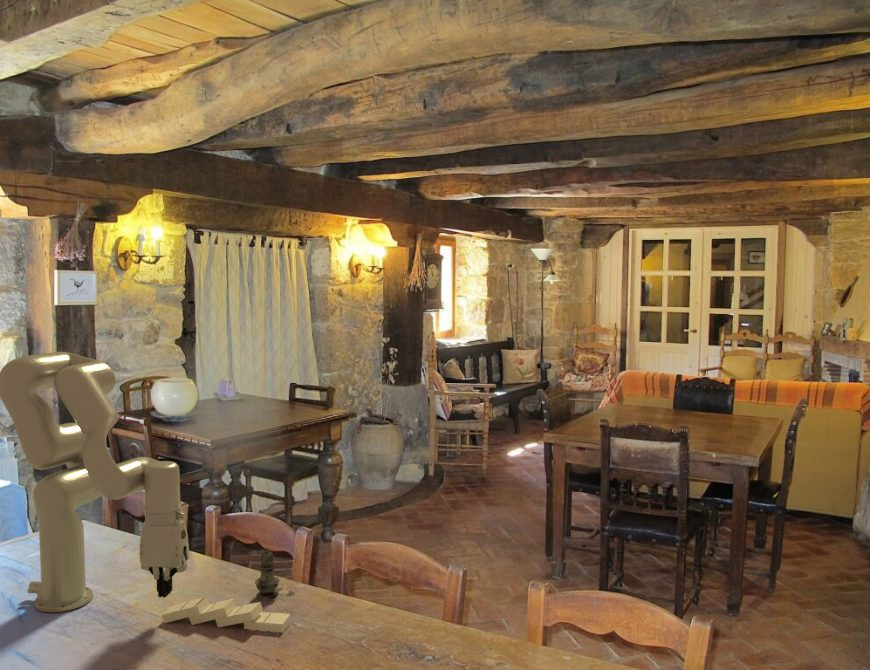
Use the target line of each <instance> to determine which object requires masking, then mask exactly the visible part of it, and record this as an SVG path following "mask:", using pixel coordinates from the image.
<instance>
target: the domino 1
mask: <svg viewBox="0 0 870 670" xmlns="http://www.w3.org/2000/svg"><path fill="white" fill-rule="evenodd" d="M210 604H211V603H210V601H209V598H208V595H207V596H203V597H198V598H196V599H195V598H194V599H191V600H187V601H184V602H180V603H176V604H172V605H171V606H170V607H169V608H168V609H166V611H164V612H163V613H162V614H161V618H162V621H163V623H164V624H167V623H170V622H171V623H172V622H174V621H179V620H182V619H186V618H189V617H191V616H195V615H199V614H201V613H202V612H203V611H204V610H205V609H206V608H207V607H208V606H209V605H210Z"/></svg>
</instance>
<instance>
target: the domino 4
mask: <svg viewBox="0 0 870 670" xmlns="http://www.w3.org/2000/svg"><path fill="white" fill-rule="evenodd" d="M290 623H291V613H282V612H281V613H280V612H279V613H278V612H268V611H267V612H265V611H262V612H261V613H260V614H259V615H258V616H257V617H256V618H255V619H254V620H253V621H248V622H243V629H249V630H248V631H255V630H259V631H258V632H267V631H270V632H271V633H279V632H281V633H280V634H283V633H284V632H285V631H286V630H287V628H288V626H289V625H290ZM270 632H269V633H270Z"/></svg>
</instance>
